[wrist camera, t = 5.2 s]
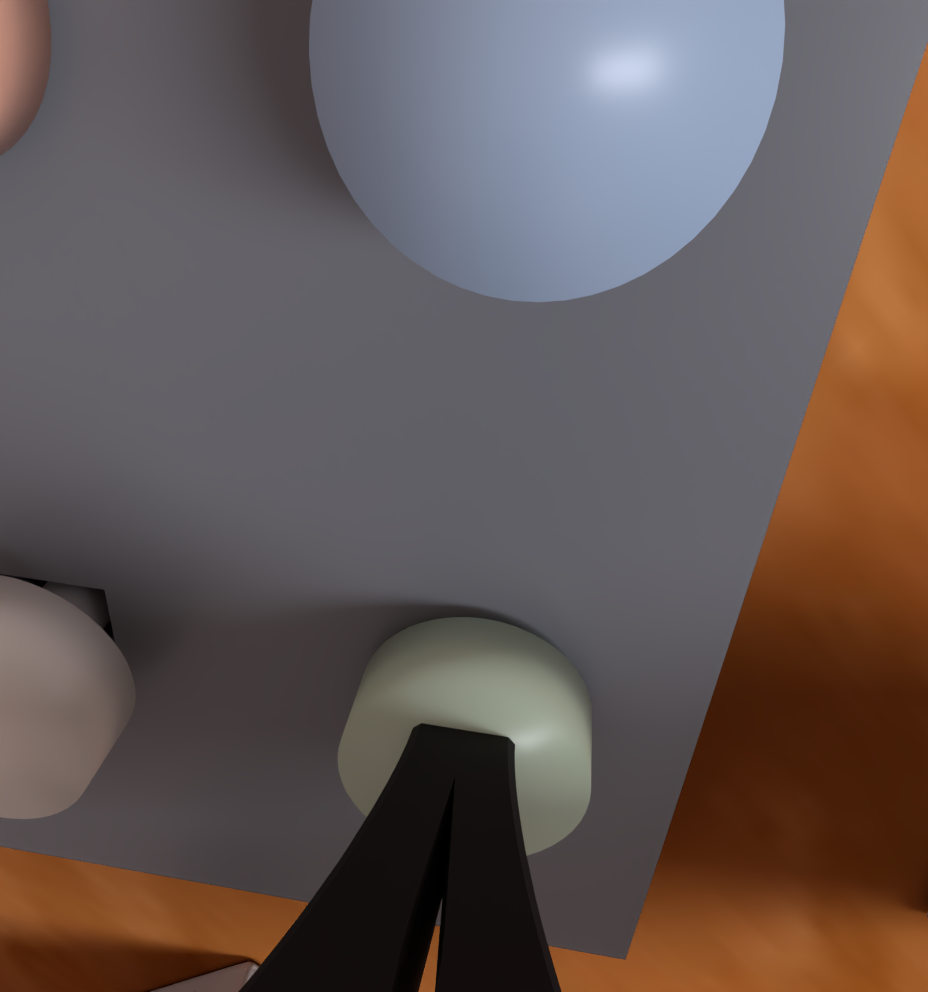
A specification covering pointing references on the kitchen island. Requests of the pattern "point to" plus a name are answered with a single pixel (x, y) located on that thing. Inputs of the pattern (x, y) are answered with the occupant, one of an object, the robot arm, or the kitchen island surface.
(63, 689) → the cream button
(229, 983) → the coffee box
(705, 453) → the button panel
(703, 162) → the slate button
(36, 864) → the kitchen island surface
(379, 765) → the sage button
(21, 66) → the terracotta button
